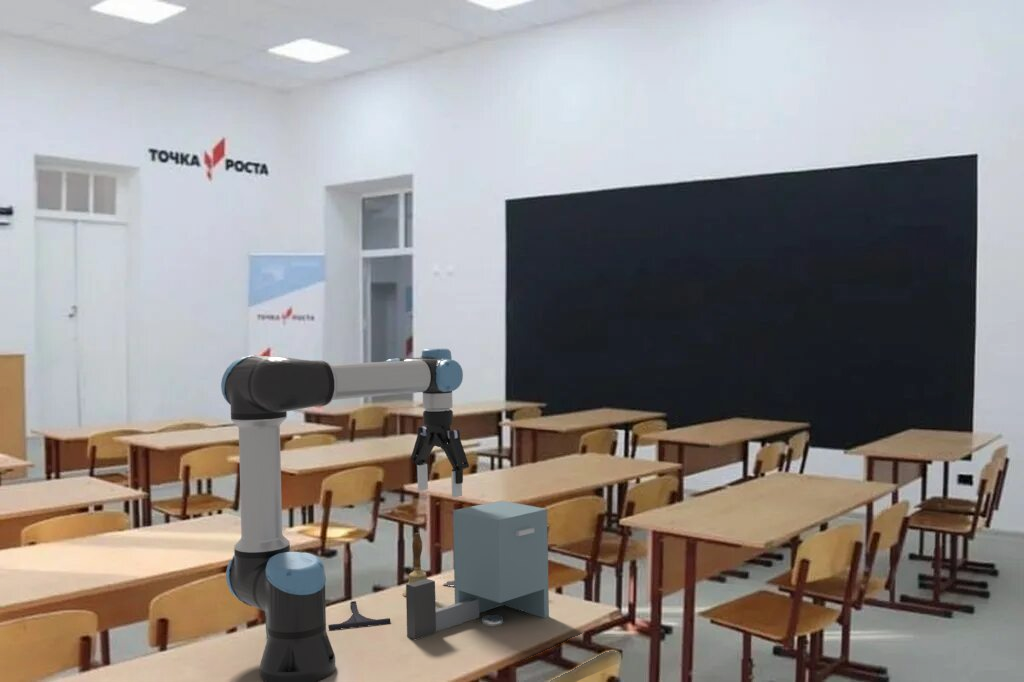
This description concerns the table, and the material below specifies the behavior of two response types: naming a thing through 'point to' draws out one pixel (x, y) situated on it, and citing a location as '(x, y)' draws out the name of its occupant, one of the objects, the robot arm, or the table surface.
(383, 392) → the robot arm
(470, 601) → the grey l-bracket
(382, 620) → the dark squeegee
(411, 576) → the hand bell
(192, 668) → the table surface
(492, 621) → the steel token
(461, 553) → the cabinet
